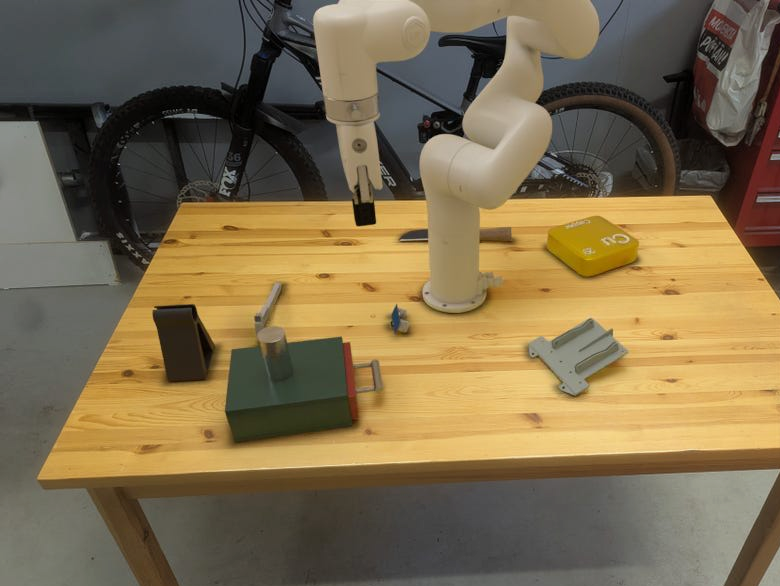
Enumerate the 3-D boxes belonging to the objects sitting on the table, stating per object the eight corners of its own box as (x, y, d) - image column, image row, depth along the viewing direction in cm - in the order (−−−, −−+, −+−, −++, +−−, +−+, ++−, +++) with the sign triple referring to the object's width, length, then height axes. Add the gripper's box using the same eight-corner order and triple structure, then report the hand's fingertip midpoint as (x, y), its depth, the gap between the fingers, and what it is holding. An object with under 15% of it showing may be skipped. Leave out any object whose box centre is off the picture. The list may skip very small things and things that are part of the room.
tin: (293, 362, 104) (285, 324, 100) (293, 379, 101) (284, 340, 97) (267, 365, 104) (257, 327, 99) (266, 382, 101) (256, 343, 96)
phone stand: (205, 380, 111) (185, 322, 103) (168, 382, 110) (145, 325, 102) (215, 346, 118) (198, 290, 110) (180, 348, 117) (160, 292, 109)
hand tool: (399, 224, 149) (510, 220, 148) (401, 236, 151) (511, 232, 150) (397, 235, 145) (511, 231, 144) (399, 248, 147) (511, 244, 146)
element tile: (596, 230, 152) (599, 211, 149) (640, 260, 142) (644, 240, 139) (542, 247, 146) (544, 227, 143) (584, 279, 136) (587, 259, 133)
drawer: (378, 360, 114) (376, 338, 111) (386, 414, 104) (384, 392, 101) (253, 376, 110) (247, 353, 107) (249, 433, 100) (242, 410, 97)
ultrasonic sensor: (402, 339, 121) (410, 325, 120) (391, 336, 120) (398, 322, 119) (399, 320, 126) (406, 306, 124) (387, 317, 125) (394, 303, 123)
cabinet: (346, 366, 114) (341, 336, 110) (352, 426, 103) (347, 395, 99) (240, 379, 111) (231, 349, 107) (234, 442, 100) (224, 411, 96)
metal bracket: (588, 301, 120) (639, 348, 109) (591, 324, 124) (641, 371, 114) (520, 340, 117) (567, 392, 107) (526, 361, 121) (572, 413, 111)
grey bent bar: (266, 349, 117) (259, 320, 113) (259, 349, 117) (252, 320, 113) (282, 285, 133) (277, 258, 129) (277, 285, 133) (271, 258, 129)
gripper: (387, 122, 88) (397, 243, 100) (371, 85, 99) (382, 199, 111) (330, 127, 86) (347, 250, 98) (320, 89, 97) (336, 204, 109)
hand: (365, 222), depth 104 cm, fingers closed
